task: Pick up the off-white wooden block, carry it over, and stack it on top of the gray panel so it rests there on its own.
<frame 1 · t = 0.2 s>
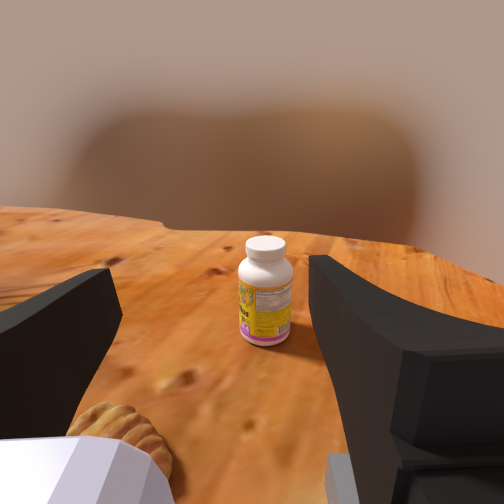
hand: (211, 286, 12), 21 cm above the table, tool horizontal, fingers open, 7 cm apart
supplement bottle: (264, 333, 43), on the table
pastry: (120, 461, 28), on the table
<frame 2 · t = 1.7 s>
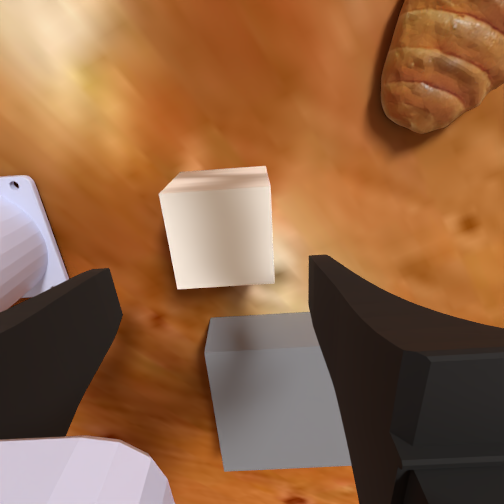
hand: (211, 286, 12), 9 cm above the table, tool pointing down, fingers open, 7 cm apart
pastry: (458, 22, 16), on the table
cream block: (227, 209, 20), on the table
gray panel: (294, 370, 26), on the table
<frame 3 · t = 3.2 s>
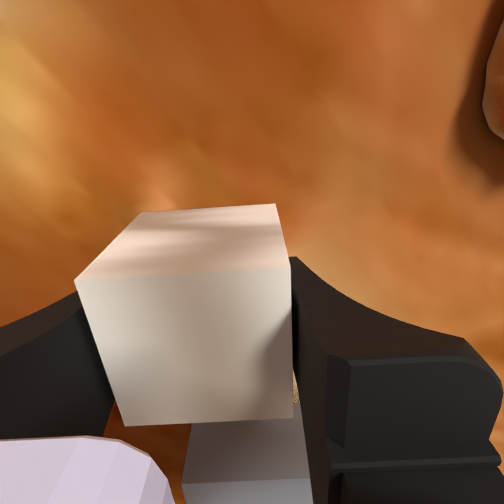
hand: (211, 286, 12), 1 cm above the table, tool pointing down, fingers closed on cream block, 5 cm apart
cream block: (215, 267, 13), on the table, touching gripper
gray panel: (310, 467, 19), on the table
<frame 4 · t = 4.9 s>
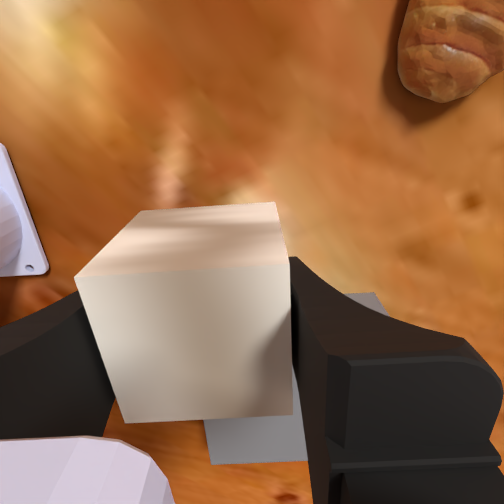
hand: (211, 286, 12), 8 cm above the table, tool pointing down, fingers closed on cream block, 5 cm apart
cream block: (215, 266, 13), point 7 cm above the table, touching gripper
gray panel: (285, 359, 25), on the table
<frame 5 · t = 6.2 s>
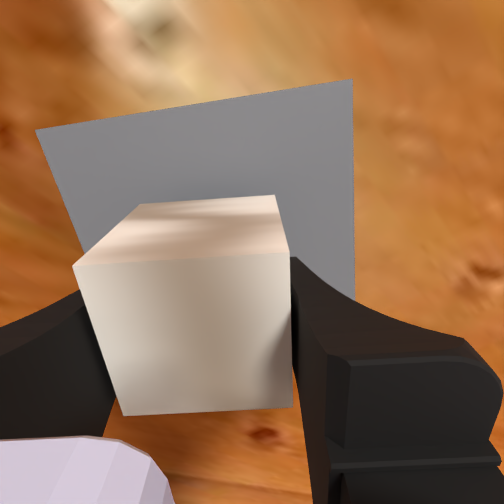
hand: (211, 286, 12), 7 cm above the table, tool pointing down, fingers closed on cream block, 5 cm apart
cream block: (214, 260, 13), point 5 cm above the table, touching gripper
gray panel: (225, 220, 18), on the table
when the fingers open (7 cm above the table, at t = 7.0 s): cream block drops 1 cm, resting on gray panel.
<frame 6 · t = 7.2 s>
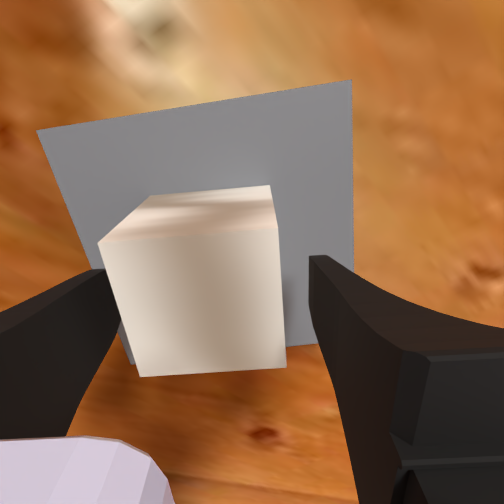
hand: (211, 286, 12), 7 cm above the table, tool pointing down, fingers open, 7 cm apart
cream block: (217, 245, 14), point 3 cm above the table, touching gray panel
gray panel: (225, 220, 18), on the table, touching cream block
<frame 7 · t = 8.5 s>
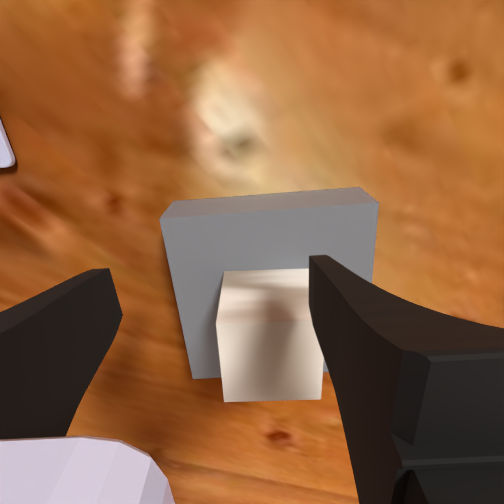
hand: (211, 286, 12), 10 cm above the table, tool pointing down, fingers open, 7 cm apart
cream block: (267, 305, 20), point 3 cm above the table, touching gray panel
gray panel: (270, 272, 24), on the table, touching cream block
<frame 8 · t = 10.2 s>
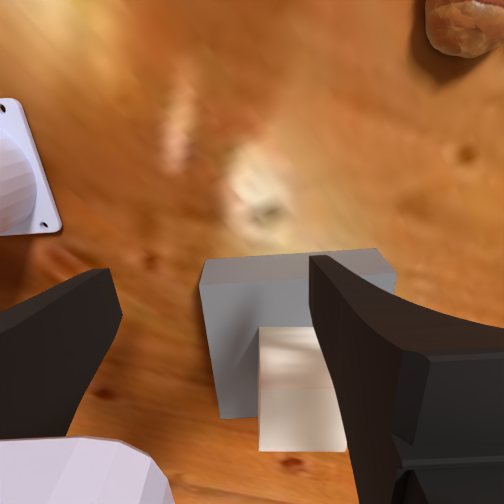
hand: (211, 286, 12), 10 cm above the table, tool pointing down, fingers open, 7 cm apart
cream block: (294, 356, 22), point 3 cm above the table, touching gray panel
gray panel: (291, 319, 26), on the table, touching cream block
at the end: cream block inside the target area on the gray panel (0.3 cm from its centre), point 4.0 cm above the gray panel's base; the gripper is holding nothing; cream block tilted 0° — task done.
